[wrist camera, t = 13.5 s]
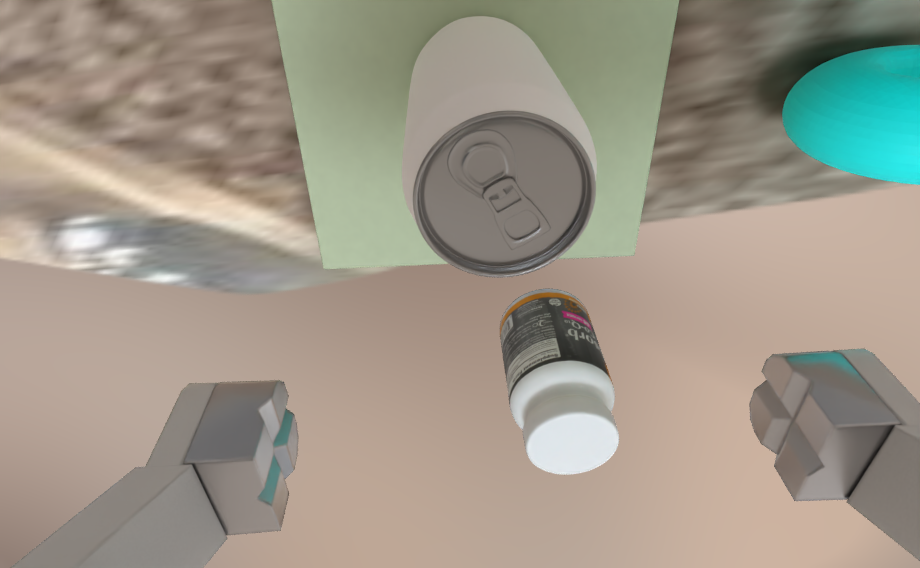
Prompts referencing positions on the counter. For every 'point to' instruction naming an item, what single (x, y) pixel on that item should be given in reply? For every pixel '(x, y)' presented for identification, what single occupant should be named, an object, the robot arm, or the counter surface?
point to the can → (494, 152)
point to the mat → (386, 101)
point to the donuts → (861, 113)
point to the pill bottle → (558, 382)
